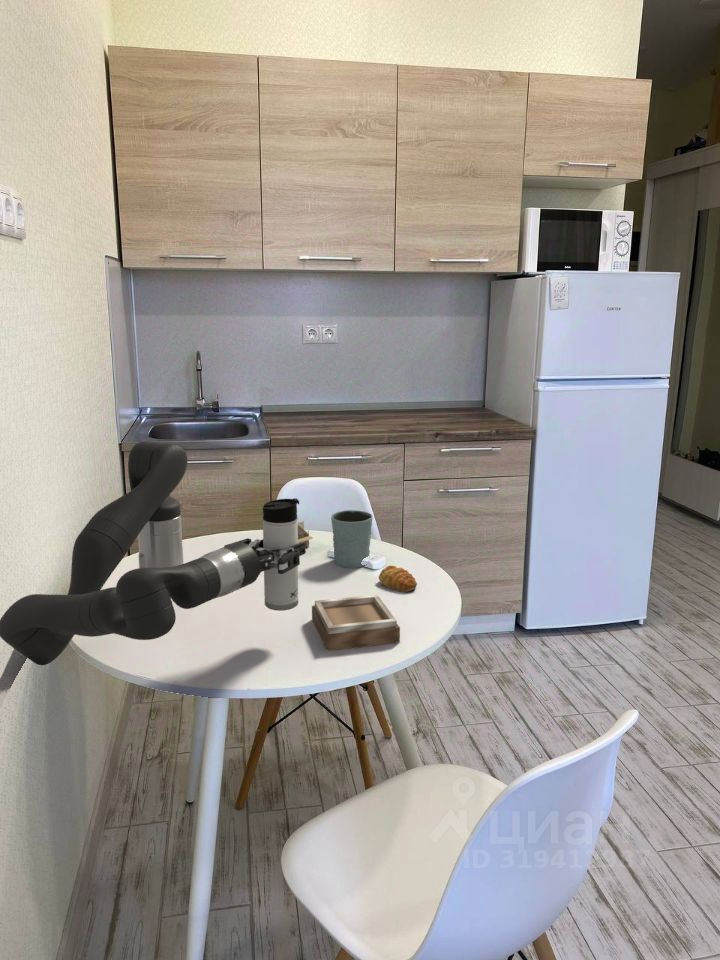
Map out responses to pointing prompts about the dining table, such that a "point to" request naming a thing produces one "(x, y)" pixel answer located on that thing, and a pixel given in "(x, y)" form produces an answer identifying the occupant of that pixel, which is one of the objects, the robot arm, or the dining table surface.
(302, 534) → the architectural model
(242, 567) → the robot arm
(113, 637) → the dining table surface
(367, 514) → the green cup
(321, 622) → the square wooden tray
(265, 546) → the travel mug
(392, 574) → the pastry
